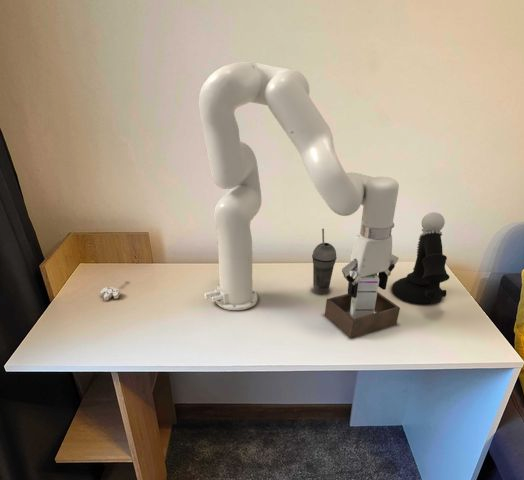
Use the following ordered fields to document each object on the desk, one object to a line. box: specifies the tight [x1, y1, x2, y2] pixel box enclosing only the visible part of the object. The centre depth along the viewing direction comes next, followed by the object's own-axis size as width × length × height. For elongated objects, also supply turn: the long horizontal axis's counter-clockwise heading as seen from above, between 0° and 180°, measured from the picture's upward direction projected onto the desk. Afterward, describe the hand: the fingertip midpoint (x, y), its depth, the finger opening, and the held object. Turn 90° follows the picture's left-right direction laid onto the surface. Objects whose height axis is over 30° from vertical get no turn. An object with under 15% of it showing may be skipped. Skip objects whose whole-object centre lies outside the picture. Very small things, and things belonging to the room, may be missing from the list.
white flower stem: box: [99, 281, 126, 302], centre depth 138 cm, size 6×12×3 cm, turn 179°
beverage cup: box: [311, 228, 337, 295], centre depth 135 cm, size 7×7×20 cm
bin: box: [324, 291, 401, 339], centre depth 126 cm, size 16×13×6 cm
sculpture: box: [391, 211, 451, 306], centre depth 130 cm, size 15×24×25 cm, turn 0°
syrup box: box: [348, 273, 379, 319], centre depth 124 cm, size 6×6×14 cm
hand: (366, 291), depth 122 cm, fingers open, 9 cm apart
